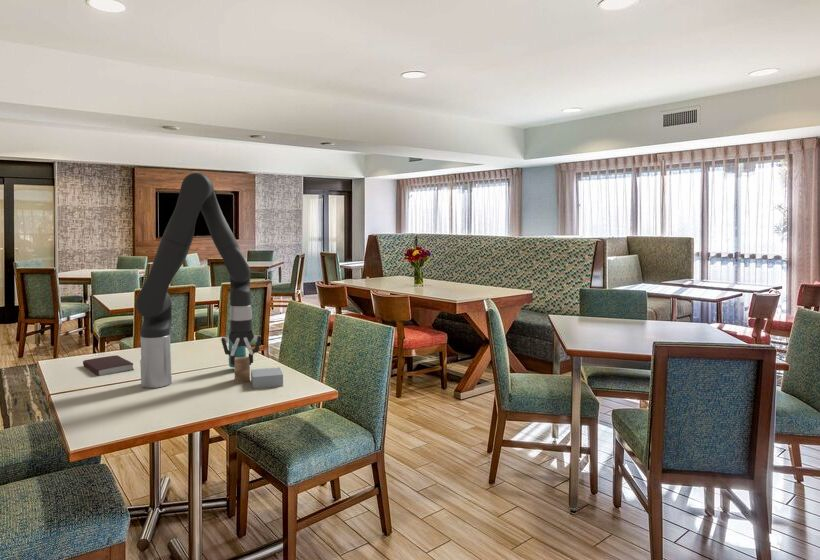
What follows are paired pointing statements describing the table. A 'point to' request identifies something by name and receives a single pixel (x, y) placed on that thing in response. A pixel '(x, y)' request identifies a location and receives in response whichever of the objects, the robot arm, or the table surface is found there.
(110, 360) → the book
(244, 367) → the walnut block
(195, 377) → the table surface
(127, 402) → the table surface
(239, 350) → the beverage bottle
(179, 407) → the table surface
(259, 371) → the base plinth
